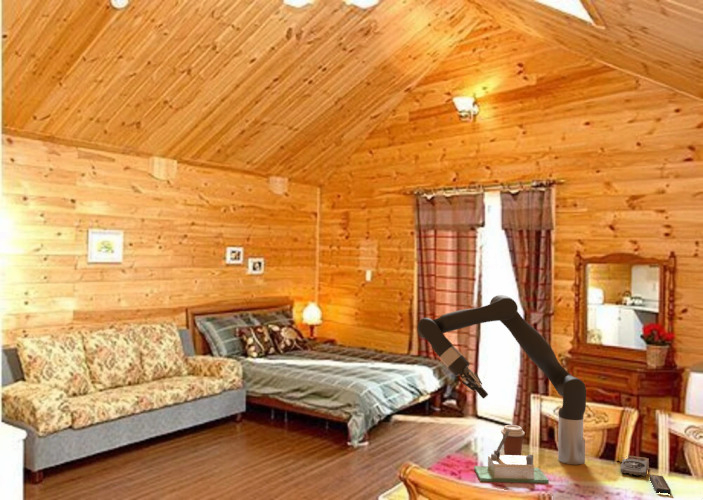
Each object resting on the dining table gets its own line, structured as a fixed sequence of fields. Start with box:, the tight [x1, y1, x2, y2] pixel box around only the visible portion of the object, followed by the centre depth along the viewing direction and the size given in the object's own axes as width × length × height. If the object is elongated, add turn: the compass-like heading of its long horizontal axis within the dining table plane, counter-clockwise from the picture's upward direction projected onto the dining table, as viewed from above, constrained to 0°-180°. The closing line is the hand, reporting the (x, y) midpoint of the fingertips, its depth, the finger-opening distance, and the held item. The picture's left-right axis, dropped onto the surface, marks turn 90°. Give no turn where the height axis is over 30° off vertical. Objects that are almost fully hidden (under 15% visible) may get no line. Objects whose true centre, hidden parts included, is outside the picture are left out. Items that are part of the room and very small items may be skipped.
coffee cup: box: [500, 424, 526, 456], centre depth 240 cm, size 9×9×12 cm
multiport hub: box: [648, 474, 672, 494], centre depth 210 cm, size 4×14×2 cm, turn 162°
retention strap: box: [495, 429, 510, 456], centre depth 220 cm, size 12×3×1 cm
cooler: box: [473, 449, 550, 484], centre depth 219 cm, size 24×13×8 cm, turn 88°
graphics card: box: [620, 455, 650, 477], centre depth 227 cm, size 17×4×12 cm
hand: (485, 396), depth 223 cm, fingers closed
